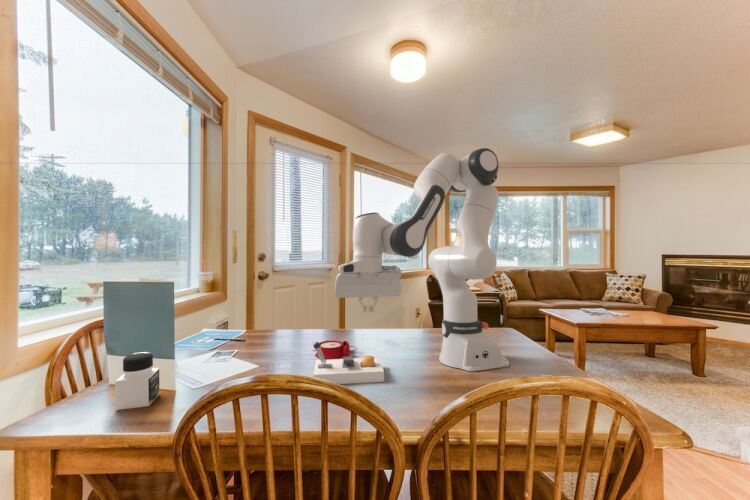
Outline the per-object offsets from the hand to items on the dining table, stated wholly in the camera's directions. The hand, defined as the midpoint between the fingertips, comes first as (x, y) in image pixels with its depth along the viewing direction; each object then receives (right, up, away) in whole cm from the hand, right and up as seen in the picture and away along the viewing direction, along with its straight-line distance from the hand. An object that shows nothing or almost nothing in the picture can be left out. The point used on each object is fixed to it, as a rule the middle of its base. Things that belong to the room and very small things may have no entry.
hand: (367, 311), depth 98 cm
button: (0, -18, 0) cm, 18 cm away
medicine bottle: (-57, -20, -17) cm, 63 cm away
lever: (-13, -16, -2) cm, 20 cm away
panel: (-6, -19, -1) cm, 20 cm away
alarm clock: (-12, -20, +19) cm, 30 cm away
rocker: (-6, -15, -1) cm, 16 cm away
